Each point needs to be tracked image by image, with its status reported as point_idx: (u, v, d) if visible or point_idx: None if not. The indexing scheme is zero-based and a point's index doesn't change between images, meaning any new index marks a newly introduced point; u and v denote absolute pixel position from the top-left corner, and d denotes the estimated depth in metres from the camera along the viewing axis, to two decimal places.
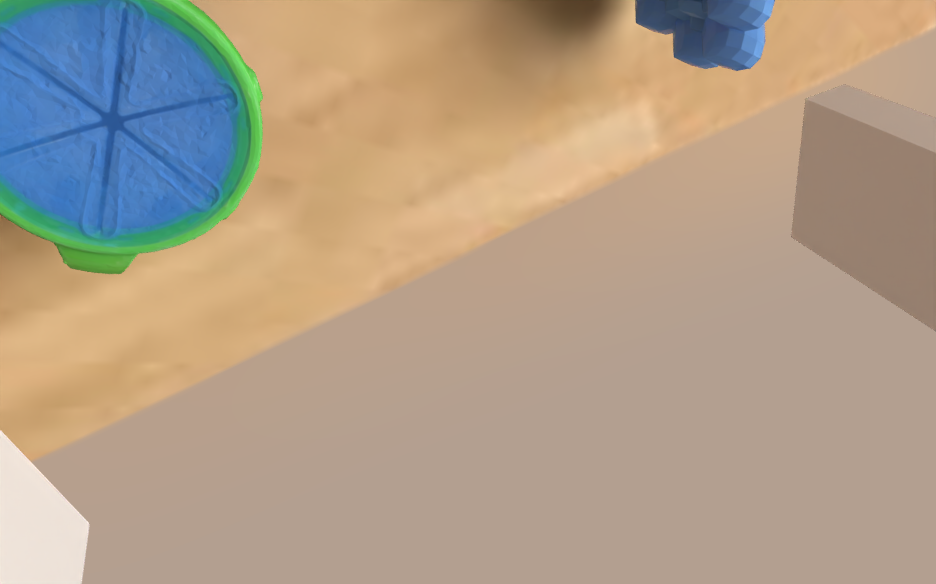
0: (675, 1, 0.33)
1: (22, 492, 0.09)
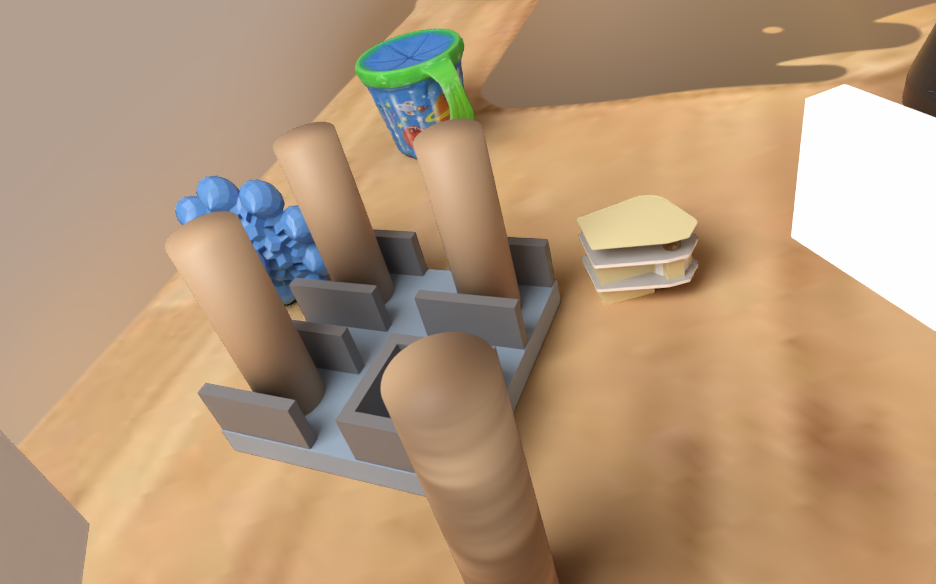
0: None
1: (22, 492, 0.09)
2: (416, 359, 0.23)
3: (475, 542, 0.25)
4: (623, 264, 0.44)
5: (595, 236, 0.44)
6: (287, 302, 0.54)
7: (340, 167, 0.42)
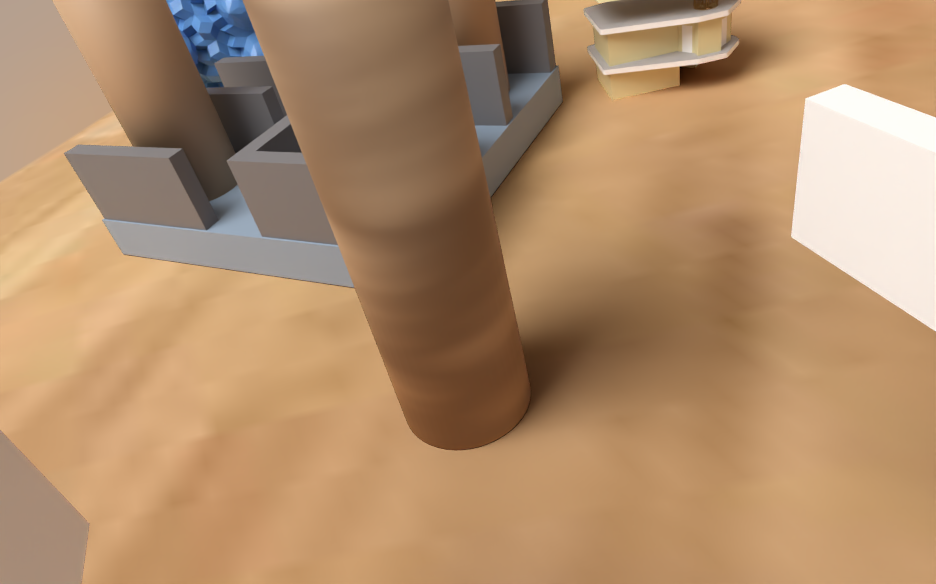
0: None
1: (22, 492, 0.09)
2: None
3: (361, 175, 0.14)
4: (639, 26, 0.33)
5: None
6: None
7: None
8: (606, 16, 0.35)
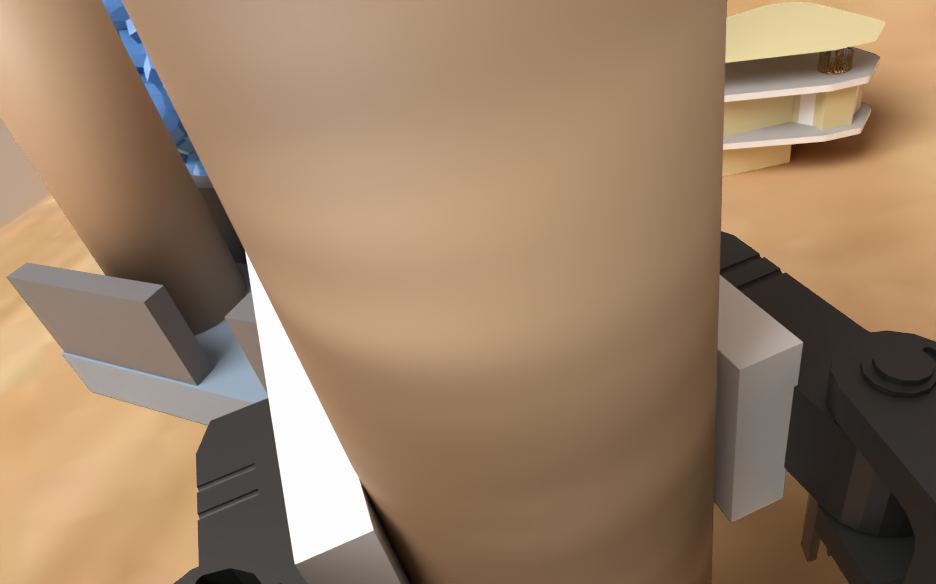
0: None
1: None
2: None
3: None
4: (750, 95, 0.26)
5: None
6: None
7: None
8: None
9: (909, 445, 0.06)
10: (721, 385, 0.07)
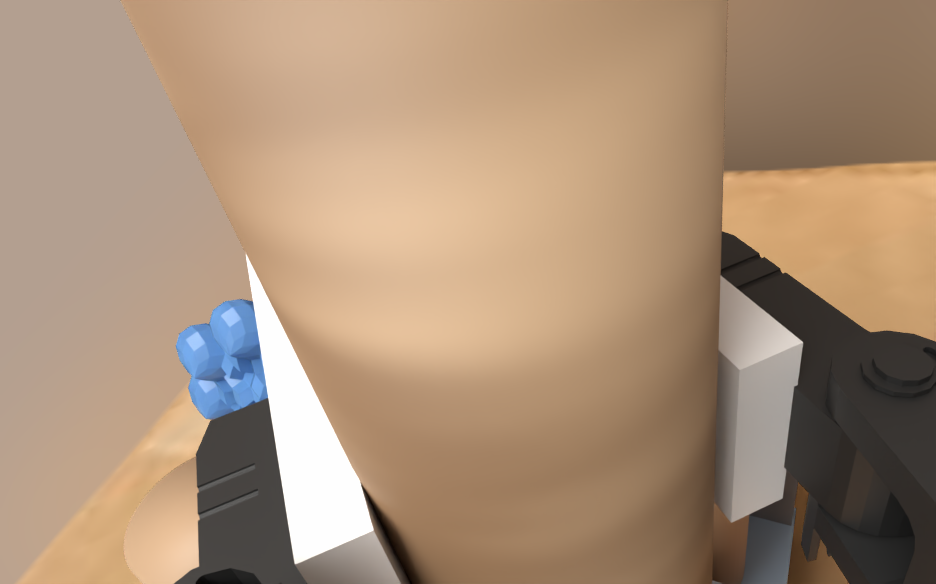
0: None
1: None
2: None
3: None
4: None
5: None
6: None
7: None
8: None
9: (909, 445, 0.06)
10: (721, 385, 0.07)
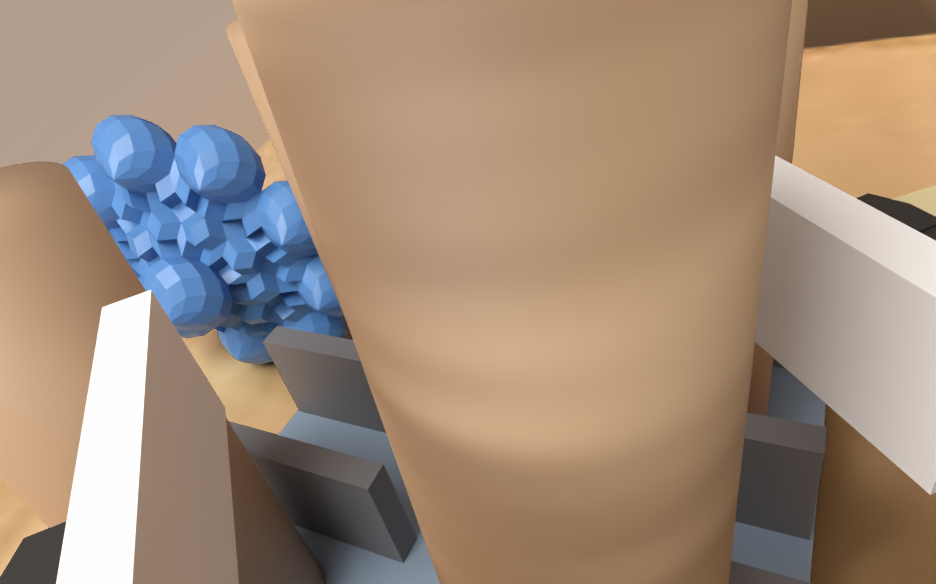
0: None
1: (185, 365, 0.11)
2: None
3: None
4: None
5: None
6: (270, 360, 0.30)
7: None
8: None
9: None
10: None
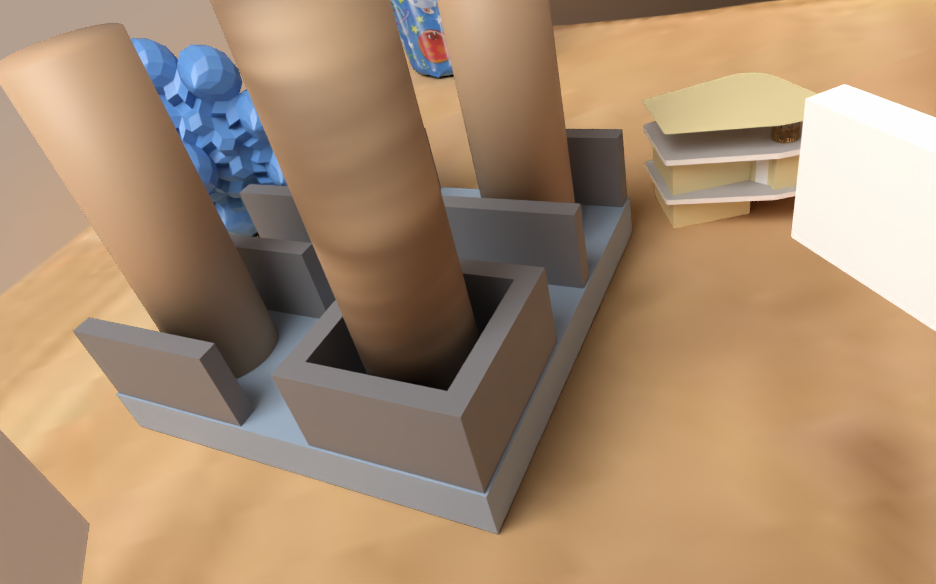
0: None
1: (22, 492, 0.09)
2: None
3: (337, 210, 0.17)
4: (710, 159, 0.29)
5: (670, 118, 0.30)
6: (248, 233, 0.40)
7: None
8: (670, 140, 0.31)
9: None
10: None
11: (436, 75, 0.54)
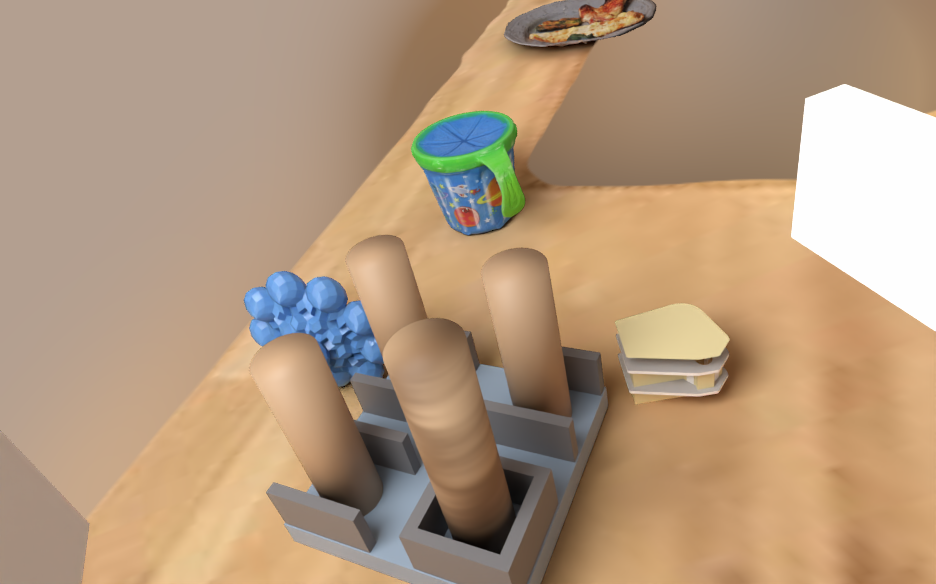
0: None
1: (22, 492, 0.09)
2: (409, 336, 0.32)
3: (448, 473, 0.34)
4: (655, 372, 0.46)
5: (631, 343, 0.47)
6: (342, 385, 0.57)
7: (407, 281, 0.45)
8: None
9: None
10: None
11: (467, 234, 0.71)
